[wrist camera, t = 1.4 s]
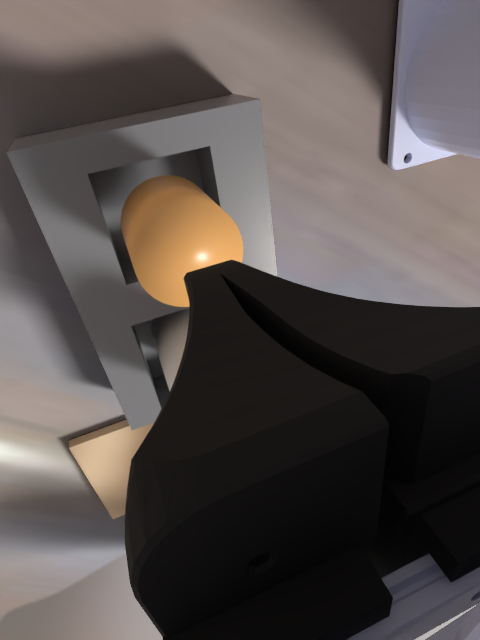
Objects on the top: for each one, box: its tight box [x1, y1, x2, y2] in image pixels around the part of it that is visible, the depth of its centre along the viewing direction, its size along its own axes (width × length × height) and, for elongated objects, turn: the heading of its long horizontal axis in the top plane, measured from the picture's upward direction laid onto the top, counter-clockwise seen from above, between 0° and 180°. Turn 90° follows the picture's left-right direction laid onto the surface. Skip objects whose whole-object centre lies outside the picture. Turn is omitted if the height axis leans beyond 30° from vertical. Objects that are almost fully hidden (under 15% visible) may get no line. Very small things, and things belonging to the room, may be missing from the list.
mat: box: [69, 419, 154, 519], centre depth 27 cm, size 8×8×1 cm
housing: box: [6, 94, 277, 430], centre depth 19 cm, size 9×14×3 cm, turn 8°
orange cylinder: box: [121, 175, 243, 307], centre depth 14 cm, size 4×4×4 cm
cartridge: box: [151, 308, 190, 391], centre depth 19 cm, size 4×4×8 cm
